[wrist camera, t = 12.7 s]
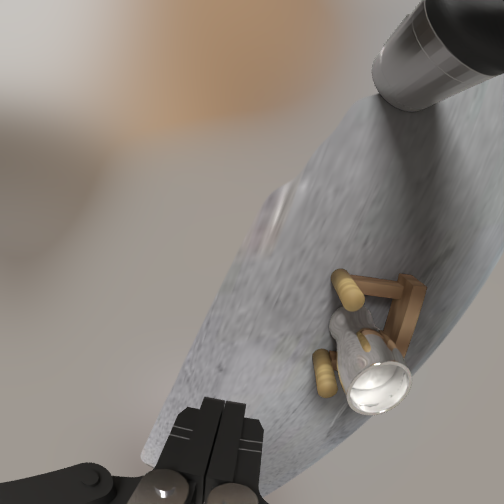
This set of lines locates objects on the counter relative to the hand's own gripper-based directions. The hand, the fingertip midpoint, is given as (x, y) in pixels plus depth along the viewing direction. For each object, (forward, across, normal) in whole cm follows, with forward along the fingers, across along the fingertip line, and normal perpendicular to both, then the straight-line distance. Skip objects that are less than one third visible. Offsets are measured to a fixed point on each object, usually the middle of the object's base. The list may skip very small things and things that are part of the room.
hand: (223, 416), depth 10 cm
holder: (+29, -14, +8) cm, 33 cm away
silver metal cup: (+29, -13, +8) cm, 33 cm away
